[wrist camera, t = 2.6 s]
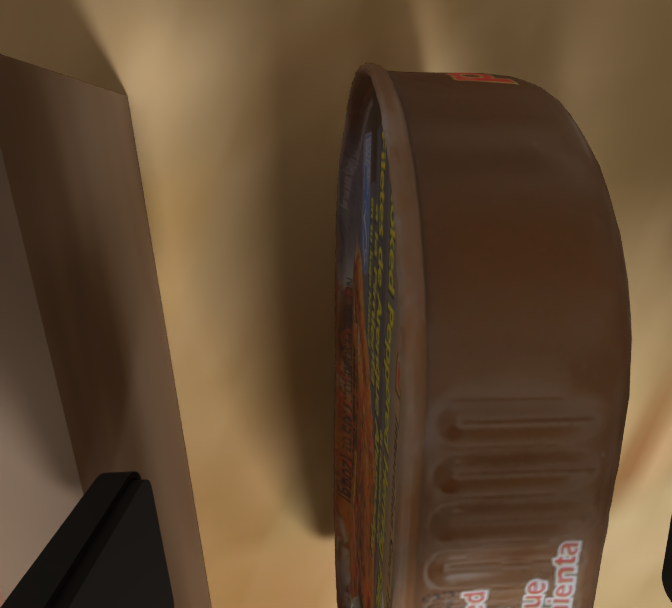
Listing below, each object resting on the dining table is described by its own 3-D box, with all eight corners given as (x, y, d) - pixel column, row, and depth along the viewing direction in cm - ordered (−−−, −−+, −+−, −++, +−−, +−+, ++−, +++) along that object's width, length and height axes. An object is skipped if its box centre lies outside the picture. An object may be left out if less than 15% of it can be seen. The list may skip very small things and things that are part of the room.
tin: (336, 101, 12) (341, -48, 3) (467, 102, 12) (780, -43, 3) (332, 599, 16) (331, 1062, 8) (429, 599, 16) (530, 1062, 8)
